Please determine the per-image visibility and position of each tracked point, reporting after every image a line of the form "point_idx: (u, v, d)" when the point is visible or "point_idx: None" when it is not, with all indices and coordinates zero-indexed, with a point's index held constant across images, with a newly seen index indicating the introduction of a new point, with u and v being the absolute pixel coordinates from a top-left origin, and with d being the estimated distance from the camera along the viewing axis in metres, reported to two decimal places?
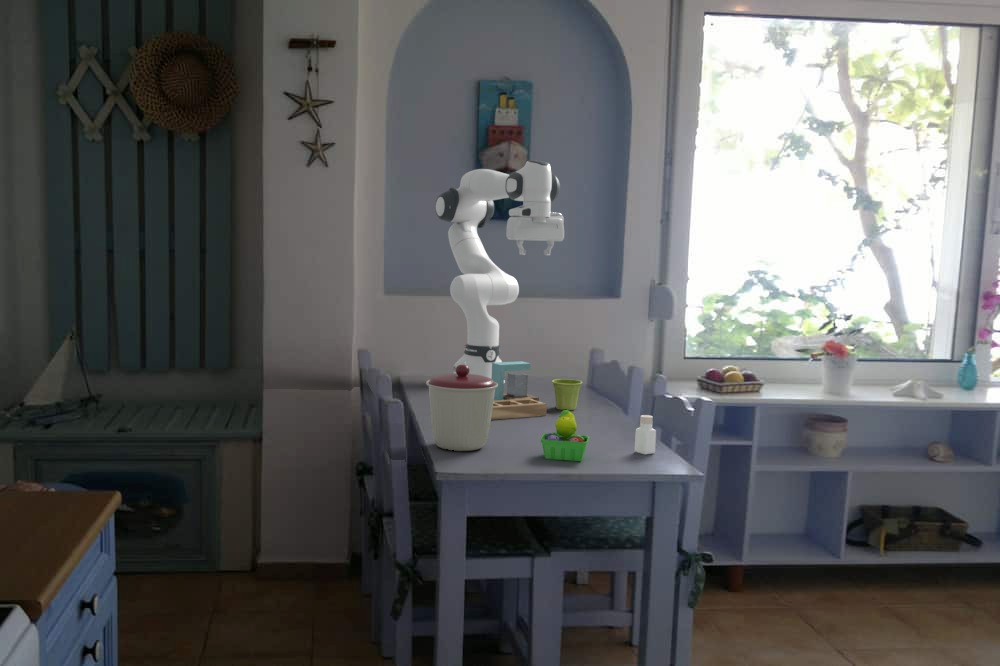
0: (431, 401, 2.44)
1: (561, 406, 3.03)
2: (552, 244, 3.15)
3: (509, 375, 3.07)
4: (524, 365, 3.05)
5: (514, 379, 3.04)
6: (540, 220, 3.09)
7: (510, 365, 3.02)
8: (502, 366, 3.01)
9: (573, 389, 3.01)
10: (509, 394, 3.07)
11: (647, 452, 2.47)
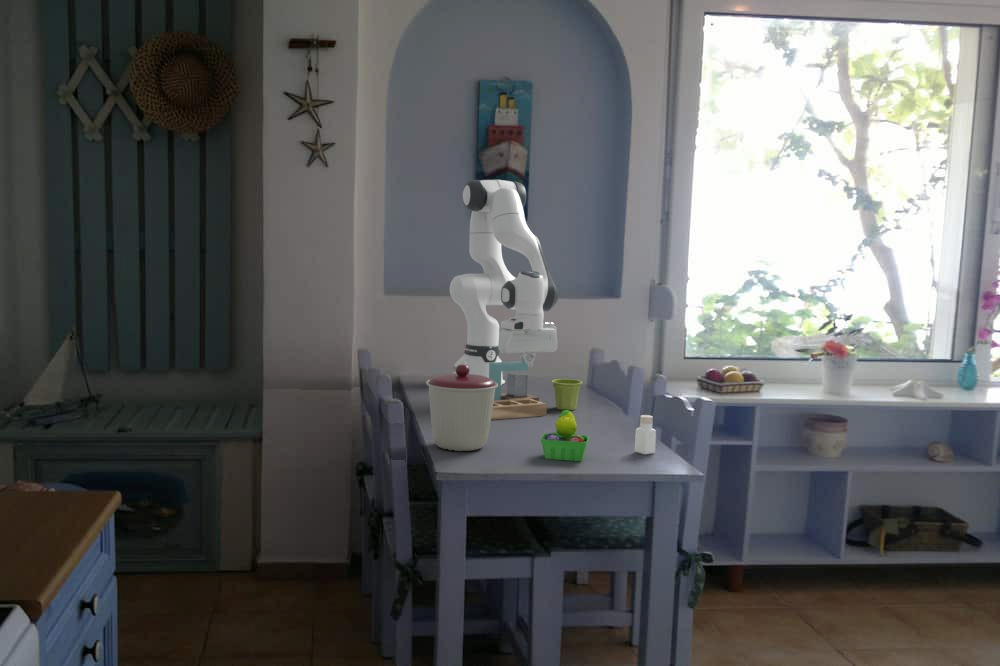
0: (431, 401, 2.44)
1: (561, 406, 3.03)
2: (534, 355, 3.08)
3: (509, 375, 3.07)
4: (521, 365, 3.04)
5: (514, 379, 3.04)
6: (533, 333, 3.04)
7: (507, 365, 3.02)
8: (499, 366, 3.00)
9: (573, 389, 3.01)
10: (509, 394, 3.07)
11: (647, 452, 2.47)
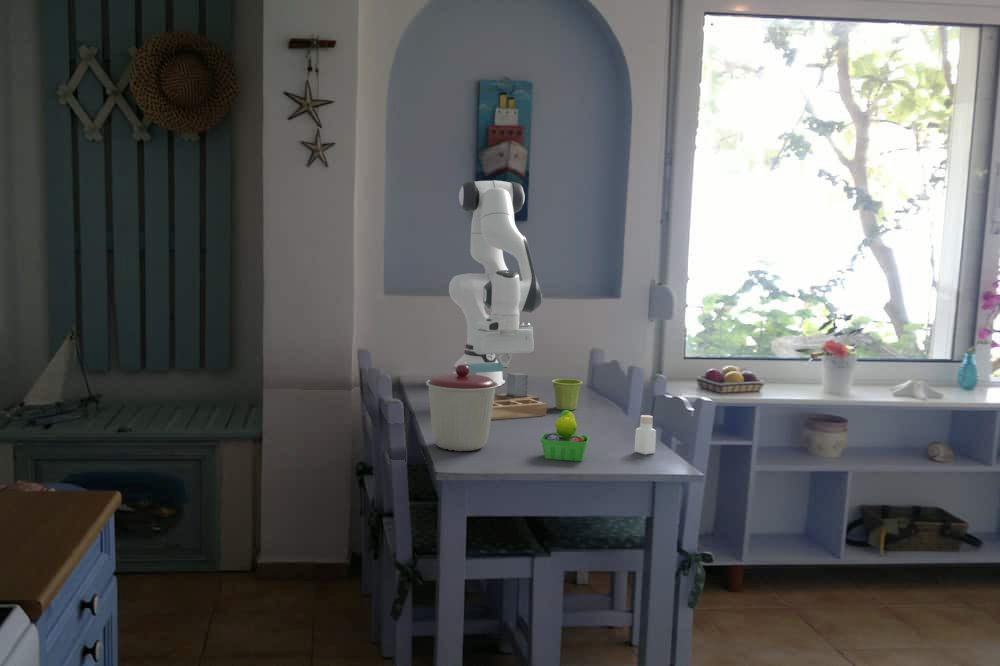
0: (431, 401, 2.44)
1: (561, 406, 3.03)
2: (510, 356, 3.04)
3: (509, 375, 3.07)
4: (497, 366, 3.00)
5: (514, 379, 3.04)
6: (508, 333, 3.00)
7: (482, 366, 2.97)
8: (474, 367, 2.96)
9: (573, 389, 3.01)
10: (509, 394, 3.07)
11: (647, 452, 2.47)
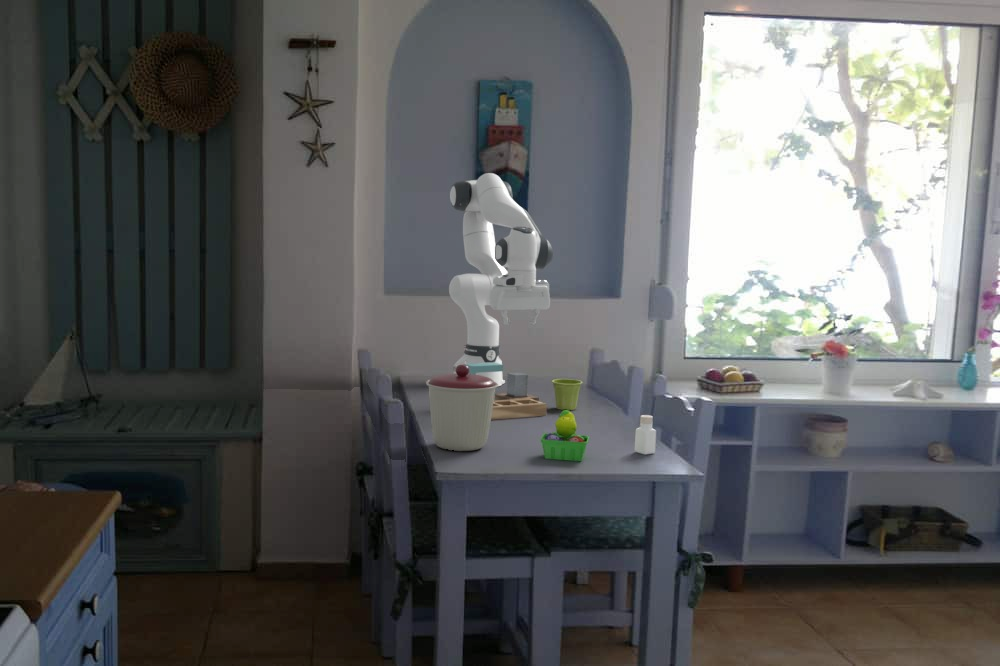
0: (431, 401, 2.44)
1: (561, 406, 3.03)
2: (537, 312, 3.07)
3: (509, 375, 3.07)
4: (496, 366, 3.00)
5: (514, 379, 3.04)
6: (525, 289, 3.01)
7: (482, 366, 2.97)
8: (474, 367, 2.96)
9: (573, 389, 3.01)
10: (509, 394, 3.07)
11: (647, 452, 2.47)
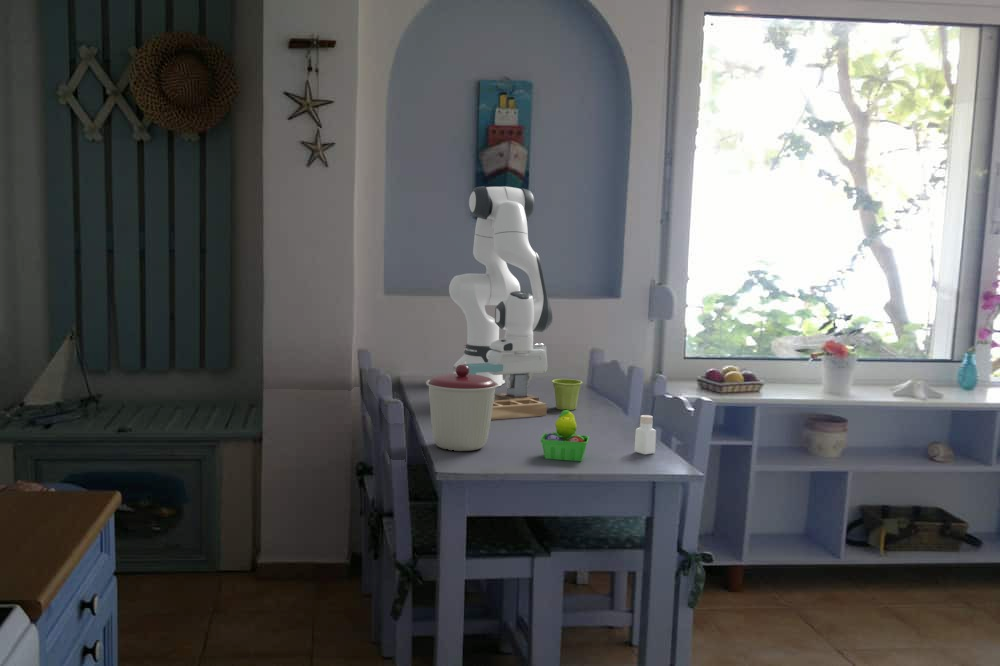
0: (431, 401, 2.44)
1: (561, 406, 3.03)
2: (530, 376, 3.08)
3: None
4: (496, 366, 3.00)
5: (514, 379, 3.04)
6: (522, 354, 3.03)
7: (482, 366, 2.97)
8: (474, 367, 2.96)
9: (573, 389, 3.01)
10: (509, 394, 3.07)
11: (647, 452, 2.47)
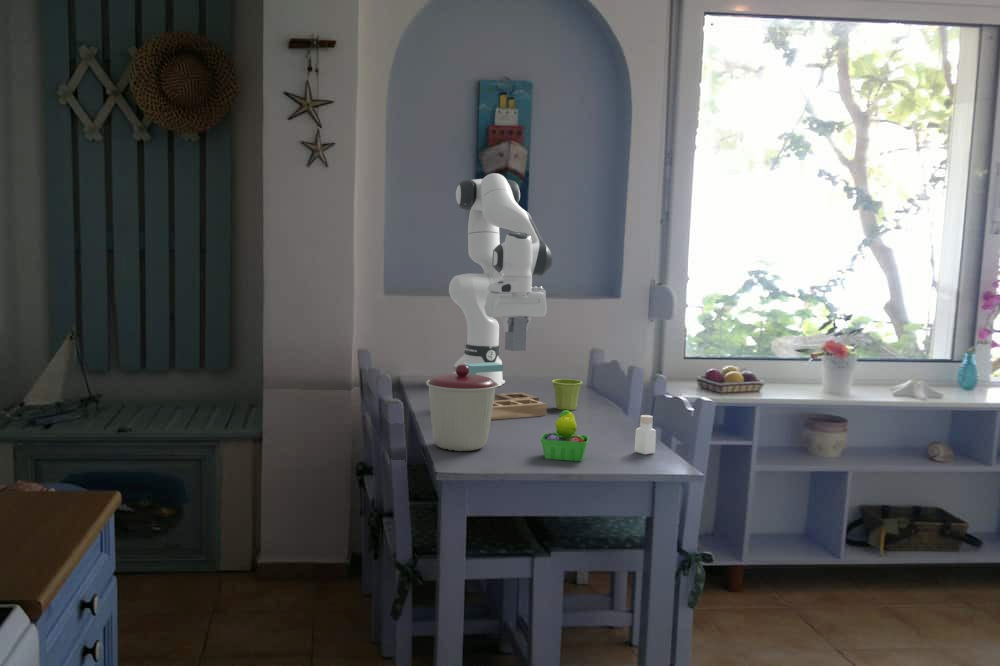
0: (431, 401, 2.44)
1: (561, 406, 3.03)
2: (529, 320, 2.99)
3: None
4: (496, 366, 3.00)
5: (513, 322, 2.95)
6: (521, 296, 2.94)
7: (482, 366, 2.97)
8: (474, 367, 2.96)
9: (573, 389, 3.01)
10: (508, 338, 2.98)
11: (647, 452, 2.47)
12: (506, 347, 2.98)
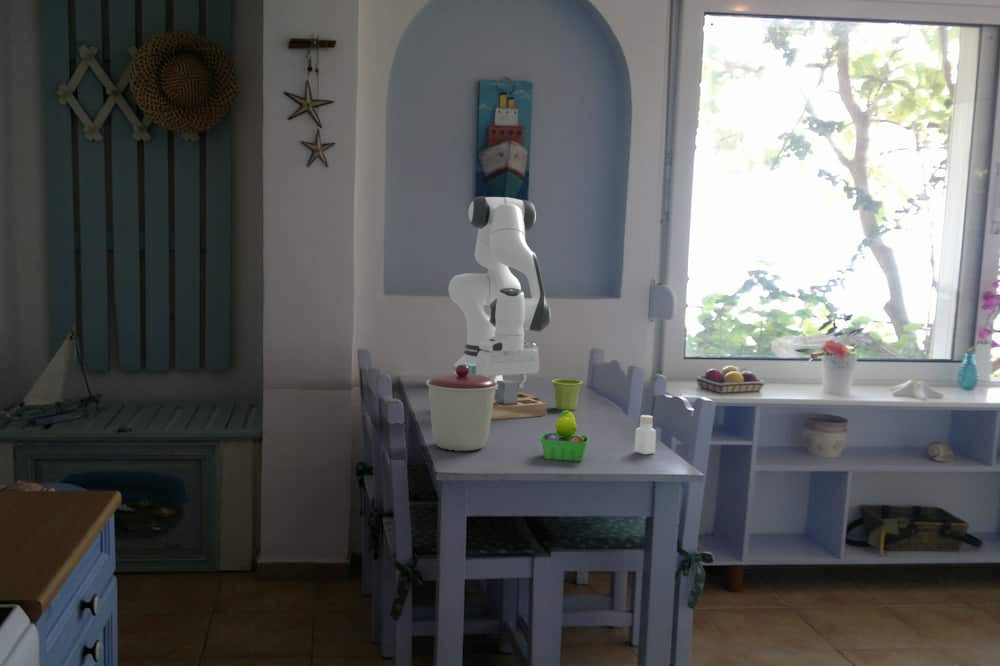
0: (431, 401, 2.44)
1: (561, 406, 3.03)
2: (525, 377, 2.93)
3: (498, 383, 2.91)
4: None
5: (503, 387, 2.89)
6: (512, 354, 2.87)
7: None
8: (474, 367, 2.96)
9: (573, 389, 3.01)
10: (498, 403, 2.91)
11: (647, 452, 2.47)
12: None
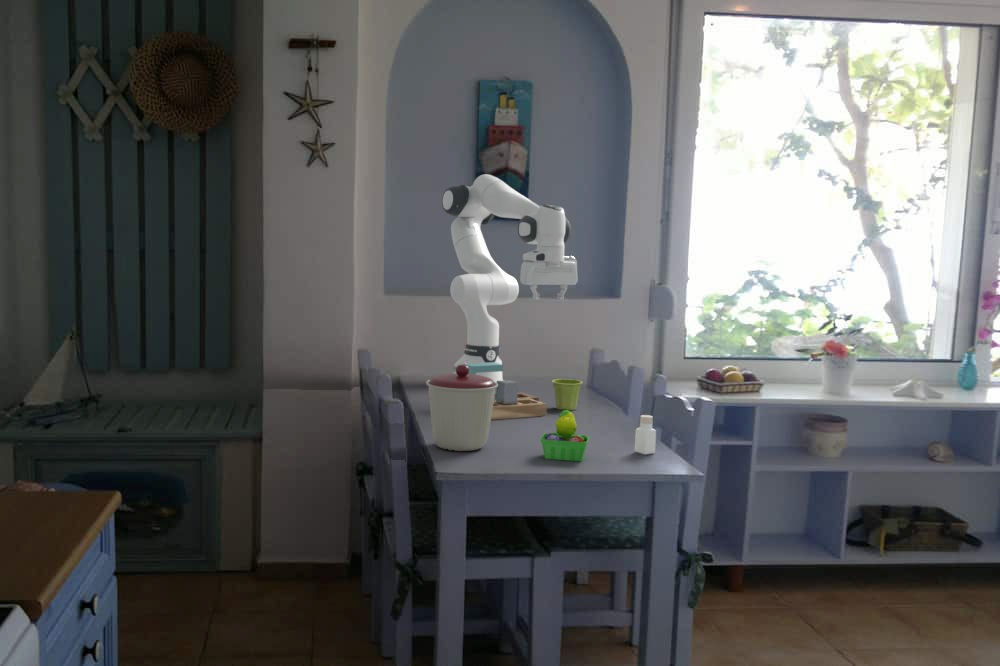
0: (431, 401, 2.44)
1: (561, 406, 3.03)
2: (565, 288, 3.16)
3: (498, 383, 2.91)
4: (496, 366, 3.00)
5: (503, 387, 2.89)
6: (554, 265, 3.10)
7: (482, 366, 2.97)
8: (474, 367, 2.96)
9: (573, 389, 3.01)
10: (498, 403, 2.91)
11: (647, 452, 2.47)
12: None
